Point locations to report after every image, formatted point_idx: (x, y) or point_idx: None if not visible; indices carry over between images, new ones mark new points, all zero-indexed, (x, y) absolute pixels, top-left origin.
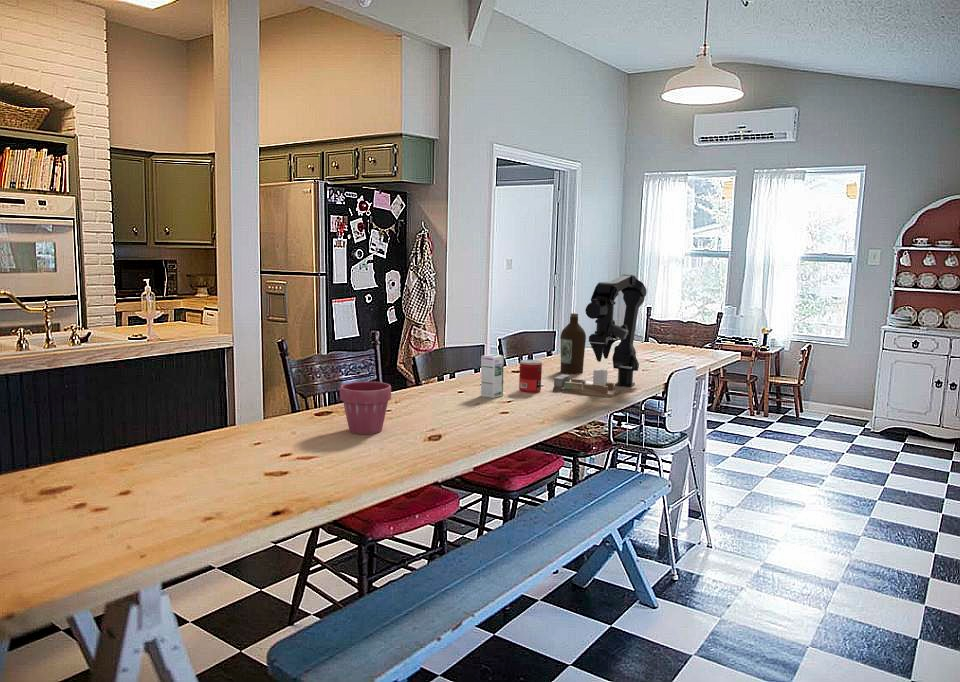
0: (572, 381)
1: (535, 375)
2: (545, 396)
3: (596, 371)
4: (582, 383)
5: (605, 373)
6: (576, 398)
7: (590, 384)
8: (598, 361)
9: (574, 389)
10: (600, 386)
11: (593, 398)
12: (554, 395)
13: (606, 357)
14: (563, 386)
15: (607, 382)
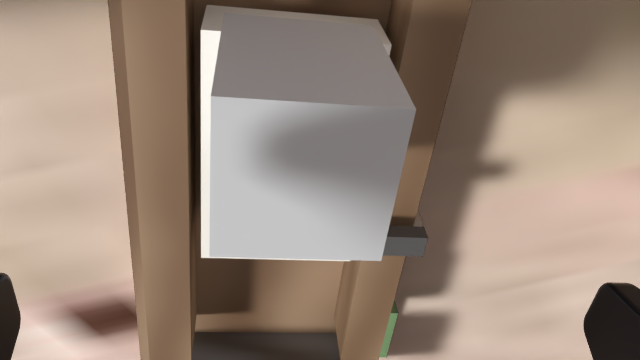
0: (192, 333)
1: None
2: None
3: (387, 215)
4: None
5: (330, 82)
6: (618, 166)
7: None
8: (608, 311)
9: None
10: (457, 45)
11: (589, 39)
12: (541, 309)
13: (3, 305)
14: (318, 338)
15: (141, 17)
